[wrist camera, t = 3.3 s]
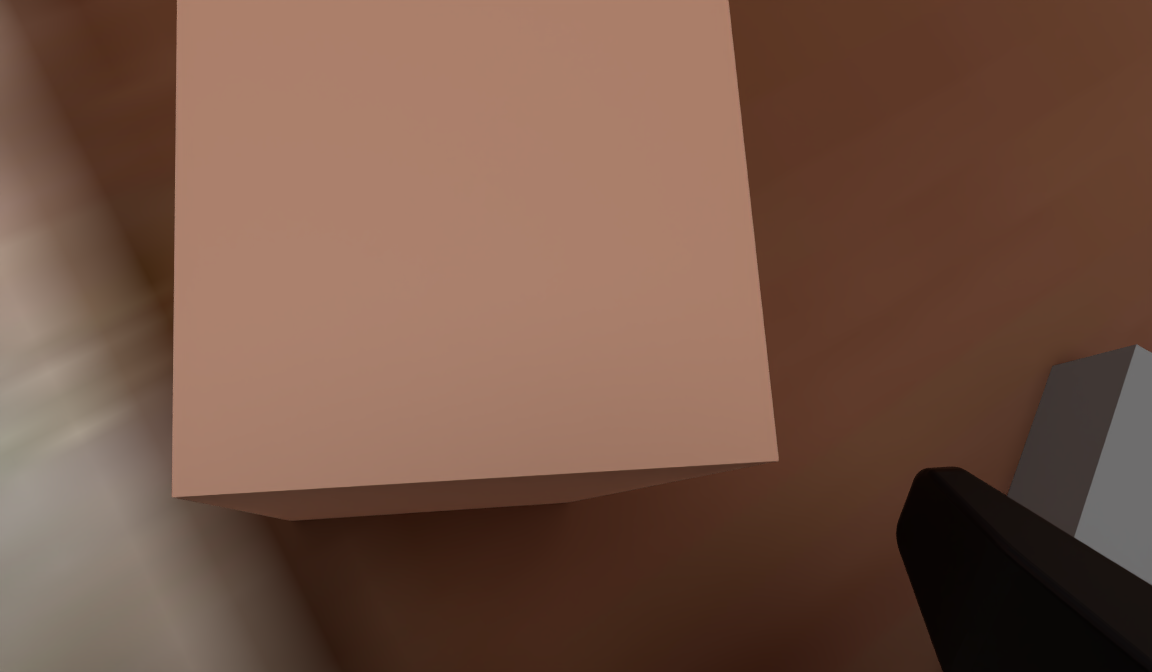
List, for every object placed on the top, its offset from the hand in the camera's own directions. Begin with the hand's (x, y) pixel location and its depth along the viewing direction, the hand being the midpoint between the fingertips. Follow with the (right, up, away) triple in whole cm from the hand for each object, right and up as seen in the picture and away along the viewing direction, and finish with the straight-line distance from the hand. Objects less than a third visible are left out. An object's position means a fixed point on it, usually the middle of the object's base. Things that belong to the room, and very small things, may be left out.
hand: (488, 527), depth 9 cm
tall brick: (-2, +1, +11) cm, 11 cm away
